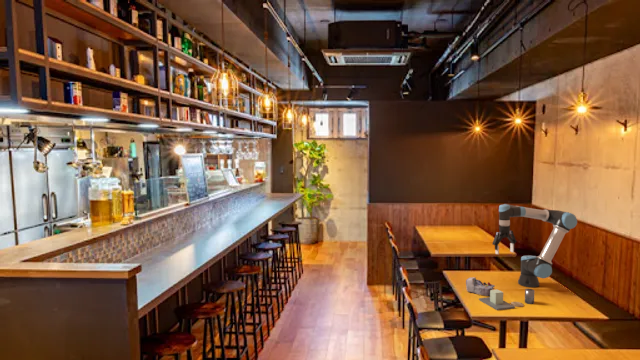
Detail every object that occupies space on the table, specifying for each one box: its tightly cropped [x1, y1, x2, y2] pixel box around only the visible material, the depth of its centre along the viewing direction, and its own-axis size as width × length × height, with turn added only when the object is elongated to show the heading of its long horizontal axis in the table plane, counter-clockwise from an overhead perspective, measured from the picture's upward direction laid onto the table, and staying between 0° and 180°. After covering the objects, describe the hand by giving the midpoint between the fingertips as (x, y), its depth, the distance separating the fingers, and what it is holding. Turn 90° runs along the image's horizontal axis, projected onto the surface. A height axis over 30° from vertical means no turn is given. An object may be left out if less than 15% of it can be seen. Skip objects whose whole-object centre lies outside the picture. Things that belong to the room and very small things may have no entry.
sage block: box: [489, 289, 504, 304], centre depth 290 cm, size 6×6×8 cm
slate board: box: [478, 296, 516, 311], centre depth 291 cm, size 14×20×1 cm
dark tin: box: [524, 288, 535, 305], centre depth 293 cm, size 6×6×9 cm
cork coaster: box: [510, 301, 525, 308], centre depth 289 cm, size 8×8×1 cm
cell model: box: [465, 276, 496, 297], centre depth 313 cm, size 13×11×20 cm
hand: (504, 252), depth 314 cm, fingers open, 13 cm apart
